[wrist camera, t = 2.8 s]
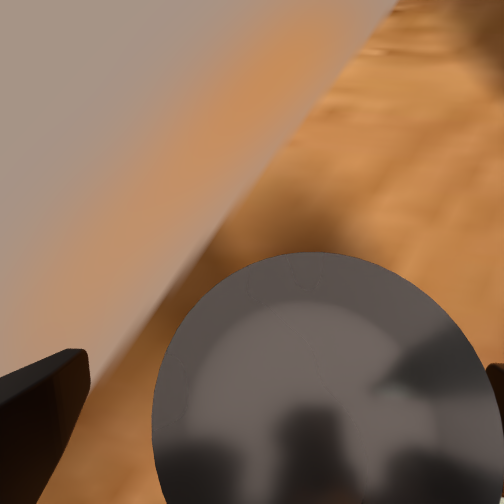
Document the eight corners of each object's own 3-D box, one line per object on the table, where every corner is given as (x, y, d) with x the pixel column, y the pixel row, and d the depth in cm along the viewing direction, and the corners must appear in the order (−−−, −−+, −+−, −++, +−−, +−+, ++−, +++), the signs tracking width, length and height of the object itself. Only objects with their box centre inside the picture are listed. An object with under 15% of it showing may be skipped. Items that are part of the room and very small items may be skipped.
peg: (310, 515, 13) (528, 687, 3) (217, 493, 14) (97, 575, 3) (321, 414, 15) (489, 278, 4) (237, 396, 15) (200, 230, 5)
